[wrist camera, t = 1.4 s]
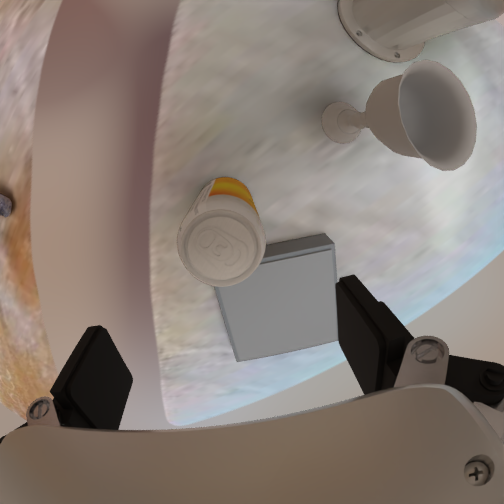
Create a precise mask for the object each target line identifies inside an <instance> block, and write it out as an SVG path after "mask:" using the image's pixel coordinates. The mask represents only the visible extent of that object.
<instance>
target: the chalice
mask: <svg viewBox="0 0 504 504" xmlns="http://www.w3.org/2000/svg"><path fill="white" fill-rule="evenodd" d="M322 127H323V129H324V131H325V133H326V135H327V136H328V137H329V138H330V139H331V140H333V141H335V142H337V143H341V144H345V143H350V142H352V141H354V140H355V139H356V138H357V137H358V136H359V133H360V132H361V129H363V128H365V127H366V128H370V130H371V131H372V133H373V134H374V135H375V136H376V138H377V139H378V140H380V141H381V142H382V143H383V144H384V145H386V146H387V147H388V148H389V149H391V150H392V151H393V152H395V153H398V154H401V155H404V156H410V157H416V158H422V159H424V160H425V161H426V162H427V163H428V164H429V165H430V166H433V167H435V168H437V169H440V170H442V171H447V170H455V169H457V168H459V167H461V166H462V165H464V164H465V162H466V161H467V160H468V158H469V157H470V156H471V154H472V151H473V148H474V145H475V142H476V130H477V124H476V117H475V111H474V108H473V105H472V102H471V99H470V96H469V94H468V92H467V91H466V89H465V87H464V86H463V84H462V82H461V81H460V80H459V79H458V78H457V77H456V76H455V74H454V73H453V72H452V71H451V70H450V69H448V68H446V67H445V66H443V65H442V64H440V63H438V62H434V61H430V60H421V61H418V62H414V63H412V64H411V65H410V66H409V67H408V68H407V69H406V70H405V71H404V74H403V75H399V76H396V77H393V78H389V79H386V80H383V81H381V82H380V83H379V84H378V85H377V86H376V87H375V88H374V89H373V91H372V93H371V95H370V97H369V99H368V101H367V104H366V111H365V112H362V113H360V112H358V111H357V110H356V109H355V108H354V107H352V106H351V105H349V104H348V103H344V102H335V103H332V104H330V105H329V106H328V107H327V108H326V109H325V110H324V112H323V114H322Z"/></svg>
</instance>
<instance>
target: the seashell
mask: <svg viewBox="0 0 504 504" xmlns="http://www.w3.org/2000/svg"><path fill="white" fill-rule="evenodd" d="M11 207H12V202H11V200H10V199H9V198H7V197H6V196H4V195H2V194H0V215H2V216H4V217H7V216H9V214H10V213H11Z"/></svg>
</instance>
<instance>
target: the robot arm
mask: <svg viewBox="0 0 504 504" xmlns="http://www.w3.org/2000/svg"><path fill="white" fill-rule="evenodd" d="M338 12H339V16H340V19H341V22H342V24H343V25H344V27H345V29H346V31H347V32H348V33H349V35H350V36H351V37H352V38H353V39H354V41H355V42H356V43H357V44H358V45H360V46H361V47H362V48H363V49H364V50H366V51H367V52H369V53H370V54H372V55H374V56H376V57H378V58H380V59H383V60H386V61H389V62H405V61H409V60H411V59H413V58H416V57H417V56H418V55H419V54H420V53H421V51H422V50H423V48H424V45H425V41H428V40H430V39H433V38H436V37H439V36H441V35H444V34H447V33H450V32H453V31H456V30H459V29H463V28H466V27H469V26H473V25H476V24H479V23H483V22H486V21H490V20H493V19H496V18H498V17H499V16H501V15H502V14H503V13H504V0H339V2H338ZM335 290H336V305H337V324H338V340H339V344H340V347H341V349H342V351H343V353H344V355H345V357H346V359H347V361H348V362H349V364H350V366H351V368H352V370H353V372H354V374H355V377H356V378H357V381H358V382H359V385H360V387H361V389H362V391H363V393H364V395H363V396H359V397H355V398H352V399H348V400H345V401H341V402H337V403H333V404H330V405H326V406H322V407H318V408H314V409H309V410H305V411H300V412H296V413H291V414H287V415H282V416H277V417H272V418H266V419H260V420H254V421H248V422H241V423H234V424H227V425H219V426H209V427H199V428H186V429H169V430H118V429H119V425H120V422H121V419H122V415H123V412H124V408H125V405H126V402H127V399H128V395H129V392H130V389H131V386H132V383H133V378H132V375H131V373H130V371H129V369H128V368H127V366H126V364H125V363H124V361H123V359H122V357H121V355H120V354H119V352H118V350H117V348H116V346H115V344H114V343H113V341H112V339H111V337H110V335H109V333H108V331H107V330H106V329H105V328H103V327H102V326H100V325H98V326H91V327H88V328H87V330H86V331H85V333H84V334H83V336H82V337H81V339H80V341H79V342H78V344H77V345H76V347H75V349H74V350H73V352H72V354H71V355H70V357H69V359H68V360H67V362H66V364H65V365H64V367H63V369H62V371H61V372H60V374H59V376H58V378H57V379H56V381H55V383H54V385H53V387H52V388H51V390H50V393H51V394H52V395H53V396H54V399H53V400H52V399H51V398H49V397H40V398H38V399H36V400H35V401H33V402H32V403H31V404H30V406H29V407H28V409H27V412H26V417H27V422H26V423H25V424H23V425H22V426H20V427H18V428H17V429H15V430H14V431H12V432H10V433H9V434H7V435H5V436H3V437H2V438H0V504H504V366H503V365H501V364H498V363H494V362H488V361H482V360H475V359H470V358H464V357H458V356H452V355H449V348H448V346H447V344H446V343H445V342H444V341H443V340H441V339H439V338H437V337H433V336H421V337H417V338H415V339H414V337H413V336H412V335H411V334H410V333H409V332H408V330H407V329H406V328H405V327H404V325H403V324H402V323H401V322H400V321H399V320H398V318H397V317H396V316H395V315H394V314H393V313H392V311H391V310H390V309H389V308H388V307H387V306H386V304H385V303H383V302H382V301H380V302H378V301H377V300H376V299H375V298H374V296H373V295H372V294H371V293H370V292H369V291H368V289H367V288H366V287H365V286H364V285H363V284H362V283H361V281H360V280H359V279H358V278H357V277H356V276H355V275H350V276H346V277H342V278H340V279H339V282H337V283H336V284H335Z"/></svg>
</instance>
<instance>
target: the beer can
mask: <svg viewBox="0 0 504 504" xmlns="http://www.w3.org/2000/svg"><path fill="white" fill-rule="evenodd" d="M177 248H178V253H179V256H180V258H181V260H182V262H183V264H184V265H185V267H186V269H187V270H188V271H189V272H190V274H191V275H192V276H194V277H195V278H196V279H198V280H199V281H201V282H203V283H205V284H208V285H211V286H218V287H225V286H231V285H235V284H237V283H240V282H242V281H243V280H245V279H246V278H248V277H249V276H250V275H251V274H252V273H253V272H254V271H255V270H256V268H257V267H258V266H259V264H260V263H261V261H262V259H263V256H264V253H265V248H266V237H265V232H264V229H263V226H262V224H261V221H260V218H259V215H258V213H257V210H256V207H255V205H254V202H253V199H252V196H251V194H250V192H249V190H248V188H247V187H246V186H245V185H244V184H243V183H241V182H240V181H238V180H236V179H233V178H229V177H221V178H217V179H214V180H212V181H210V182H209V183H207V184H206V185H205V186H204V187H203V189H202V190H201V192H200V193H199V195H198V197H197V198H196V200H195V202H194V203H193V205H192V207H191V208H190V210H189V212H188V213H187V215H186V217H185V218H184V220H183V222H182V224H181V226H180V228H179V231H178V236H177Z"/></svg>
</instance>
